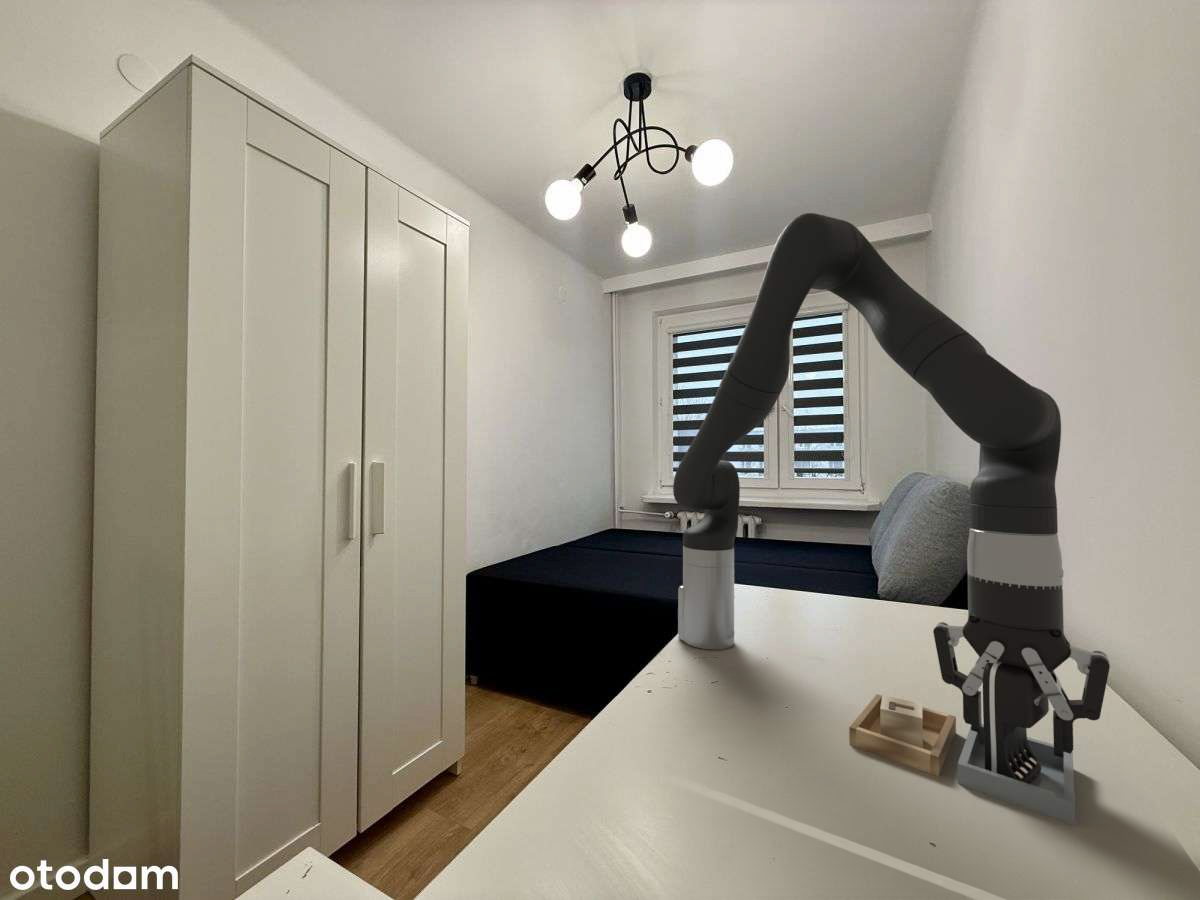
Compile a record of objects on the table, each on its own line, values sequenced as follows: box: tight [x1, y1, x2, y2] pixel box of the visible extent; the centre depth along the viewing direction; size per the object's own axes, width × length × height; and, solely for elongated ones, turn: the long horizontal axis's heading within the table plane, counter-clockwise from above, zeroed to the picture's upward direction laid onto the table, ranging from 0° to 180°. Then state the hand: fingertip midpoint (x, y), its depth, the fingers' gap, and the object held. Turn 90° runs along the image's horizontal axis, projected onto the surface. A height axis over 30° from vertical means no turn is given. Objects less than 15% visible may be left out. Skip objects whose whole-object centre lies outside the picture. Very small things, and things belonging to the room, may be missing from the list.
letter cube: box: [880, 694, 923, 748], centre depth 56 cm, size 4×4×4 cm
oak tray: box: [848, 693, 957, 777], centre depth 57 cm, size 8×11×2 cm
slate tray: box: [957, 723, 1076, 827], centre depth 50 cm, size 8×11×2 cm
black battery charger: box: [982, 661, 1050, 784], centre depth 50 cm, size 7×4×11 cm, turn 124°
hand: (1016, 740), depth 50 cm, fingers open, 6 cm apart
